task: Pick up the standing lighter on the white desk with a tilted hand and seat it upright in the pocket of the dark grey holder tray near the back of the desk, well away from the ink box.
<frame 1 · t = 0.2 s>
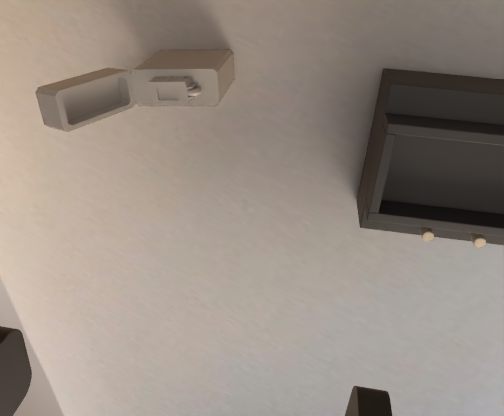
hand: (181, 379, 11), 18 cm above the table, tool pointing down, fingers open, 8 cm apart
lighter: (171, 65, 26), on the table
dark grey holder tray: (452, 149, 26), on the table
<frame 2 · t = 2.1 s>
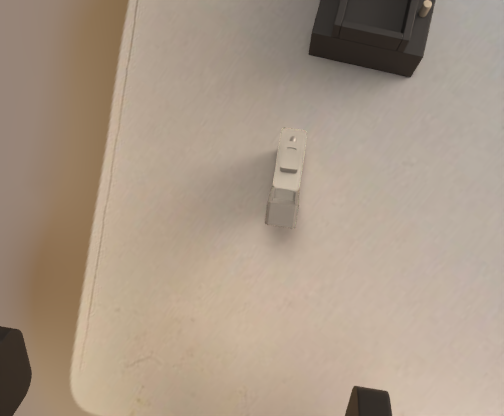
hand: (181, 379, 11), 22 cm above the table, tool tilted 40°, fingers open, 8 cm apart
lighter: (284, 196, 34), on the table
dark grey holder tray: (371, 13, 37), on the table
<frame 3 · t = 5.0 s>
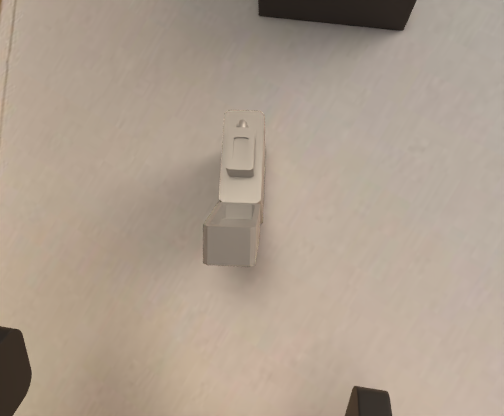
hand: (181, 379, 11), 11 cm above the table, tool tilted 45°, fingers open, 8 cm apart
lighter: (245, 214, 24), on the table
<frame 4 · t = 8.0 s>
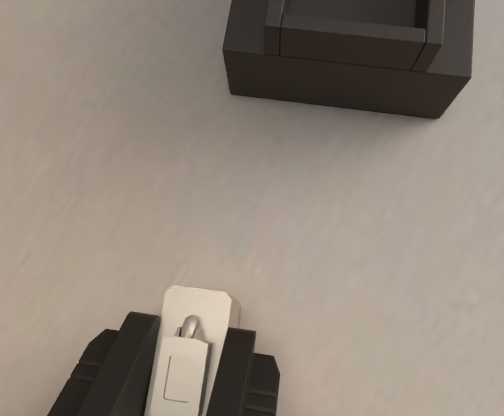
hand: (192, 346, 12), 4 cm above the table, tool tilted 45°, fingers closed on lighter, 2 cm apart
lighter: (201, 406, 16), on the table, touching gripper
dark grey holder tray: (345, 4, 19), on the table
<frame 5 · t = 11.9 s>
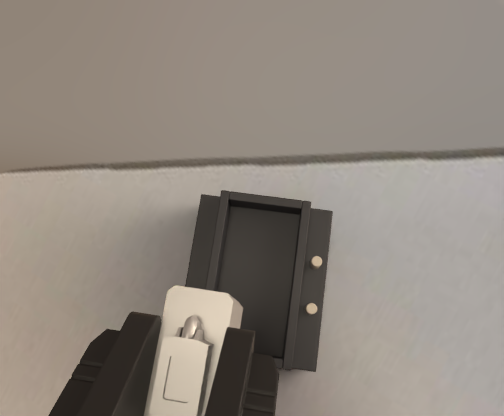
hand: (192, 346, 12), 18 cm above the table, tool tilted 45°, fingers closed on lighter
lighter: (202, 406, 16), point 14 cm above the table, touching gripper
dark grey holder tray: (257, 283, 30), on the table
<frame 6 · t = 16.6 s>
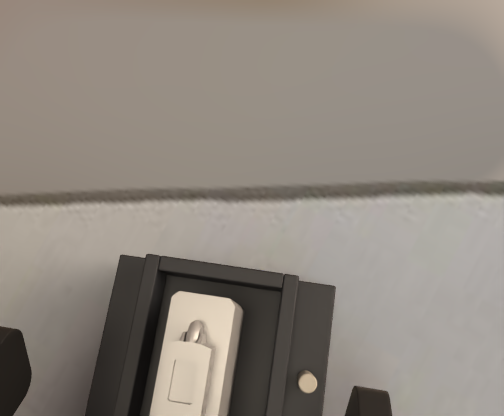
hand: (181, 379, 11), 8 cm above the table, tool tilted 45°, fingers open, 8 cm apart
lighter: (205, 407, 16), point 3 cm above the table, touching dark grey holder tray
dark grey holder tray: (214, 392, 19), on the table
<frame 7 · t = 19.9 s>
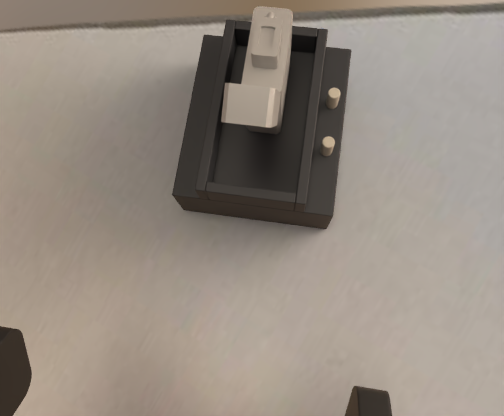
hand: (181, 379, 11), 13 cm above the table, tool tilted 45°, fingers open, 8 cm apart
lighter: (264, 123, 24), point 3 cm above the table, touching dark grey holder tray
dark grey holder tray: (265, 142, 27), on the table
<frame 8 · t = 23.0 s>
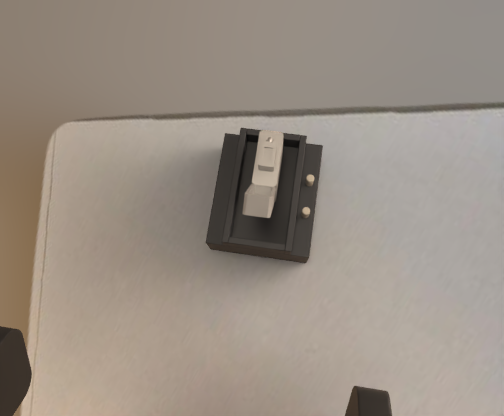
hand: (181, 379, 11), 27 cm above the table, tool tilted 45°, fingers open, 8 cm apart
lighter: (265, 195, 37), point 3 cm above the table, touching dark grey holder tray
dark grey holder tray: (265, 202, 40), on the table
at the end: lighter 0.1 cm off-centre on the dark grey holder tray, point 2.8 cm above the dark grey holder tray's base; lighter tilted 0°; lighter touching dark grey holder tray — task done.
